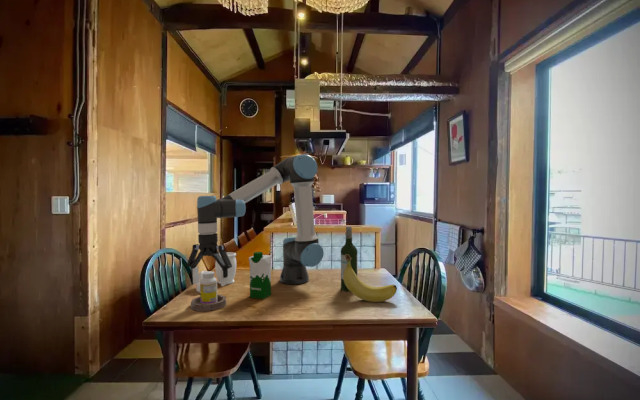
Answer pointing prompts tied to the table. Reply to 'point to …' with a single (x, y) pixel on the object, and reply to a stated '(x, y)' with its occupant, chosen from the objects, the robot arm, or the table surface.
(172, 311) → the table surface
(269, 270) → the milk carton
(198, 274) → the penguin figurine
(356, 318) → the table surface
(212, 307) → the dish
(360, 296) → the banana
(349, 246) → the wine bottle
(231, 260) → the jar
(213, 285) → the supplement bottle
